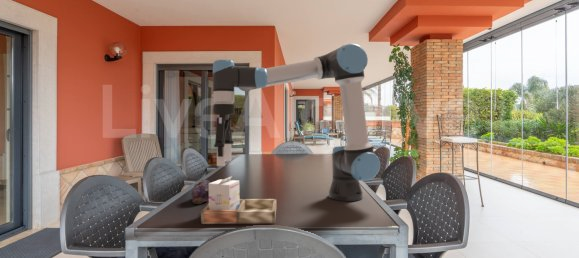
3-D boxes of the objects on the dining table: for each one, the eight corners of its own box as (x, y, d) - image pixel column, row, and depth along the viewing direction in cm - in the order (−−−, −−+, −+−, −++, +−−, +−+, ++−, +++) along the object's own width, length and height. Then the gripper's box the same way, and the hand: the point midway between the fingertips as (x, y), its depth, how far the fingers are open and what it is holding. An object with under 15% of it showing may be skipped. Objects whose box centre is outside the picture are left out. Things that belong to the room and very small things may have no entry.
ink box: (220, 209, 123) (219, 174, 123) (240, 211, 121) (239, 175, 121) (208, 216, 115) (207, 178, 115) (229, 218, 113) (229, 179, 112)
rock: (188, 207, 134) (213, 206, 135) (186, 188, 132) (212, 187, 133) (193, 196, 145) (216, 195, 146) (192, 178, 144) (215, 177, 145)
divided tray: (276, 209, 127) (276, 198, 127) (274, 223, 110) (274, 210, 110) (212, 209, 127) (212, 198, 127) (200, 223, 110) (200, 211, 109)
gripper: (220, 104, 129) (220, 159, 130) (205, 102, 105) (205, 168, 106) (239, 104, 129) (239, 158, 130) (228, 102, 105) (229, 168, 106)
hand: (224, 163), depth 118 cm, fingers open, 12 cm apart
